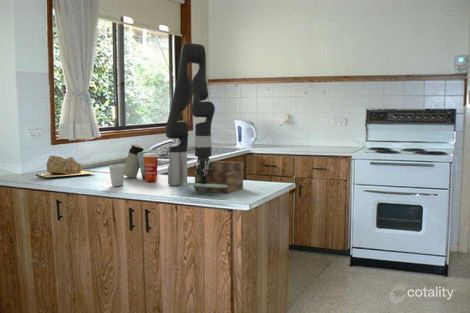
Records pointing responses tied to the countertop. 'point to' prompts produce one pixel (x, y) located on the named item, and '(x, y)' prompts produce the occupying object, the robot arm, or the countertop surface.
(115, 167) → the dixie cup
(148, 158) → the coffee cup
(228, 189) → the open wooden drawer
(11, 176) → the countertop surface
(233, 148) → the countertop surface
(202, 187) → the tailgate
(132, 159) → the travel mug
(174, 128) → the robot arm
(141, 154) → the snack box
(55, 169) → the bread loaf on board
